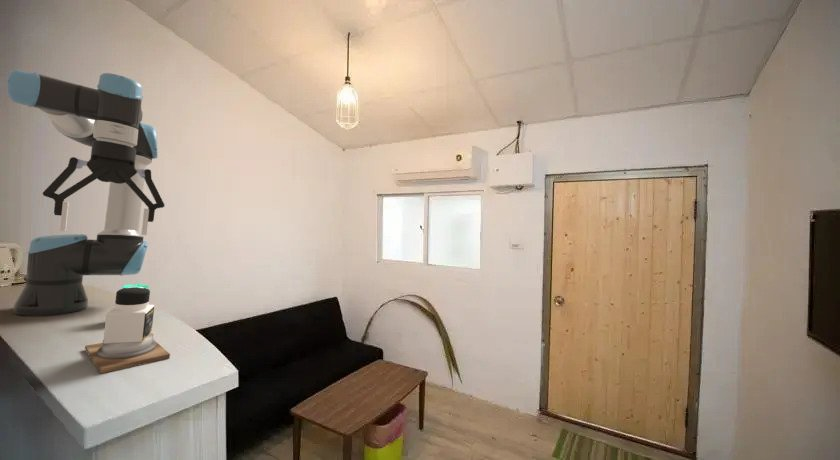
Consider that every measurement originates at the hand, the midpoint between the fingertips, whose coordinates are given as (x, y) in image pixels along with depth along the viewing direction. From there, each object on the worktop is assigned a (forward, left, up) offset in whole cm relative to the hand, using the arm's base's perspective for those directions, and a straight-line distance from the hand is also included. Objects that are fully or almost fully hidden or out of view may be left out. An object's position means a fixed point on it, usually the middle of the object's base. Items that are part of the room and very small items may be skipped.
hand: (106, 233), depth 75 cm
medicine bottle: (+5, +5, -25) cm, 26 cm away
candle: (-22, +12, -29) cm, 38 cm away
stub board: (+5, +5, -29) cm, 30 cm away
